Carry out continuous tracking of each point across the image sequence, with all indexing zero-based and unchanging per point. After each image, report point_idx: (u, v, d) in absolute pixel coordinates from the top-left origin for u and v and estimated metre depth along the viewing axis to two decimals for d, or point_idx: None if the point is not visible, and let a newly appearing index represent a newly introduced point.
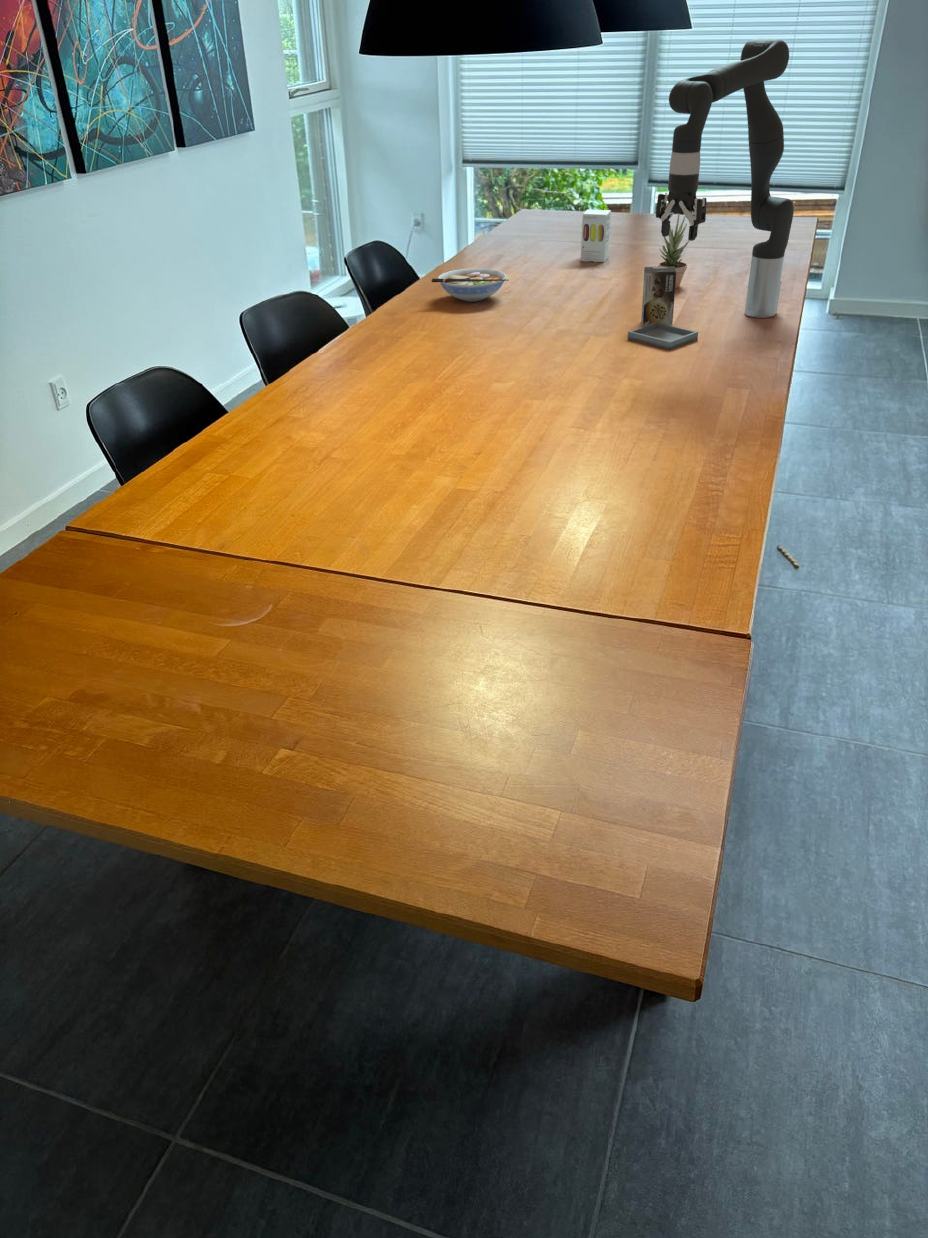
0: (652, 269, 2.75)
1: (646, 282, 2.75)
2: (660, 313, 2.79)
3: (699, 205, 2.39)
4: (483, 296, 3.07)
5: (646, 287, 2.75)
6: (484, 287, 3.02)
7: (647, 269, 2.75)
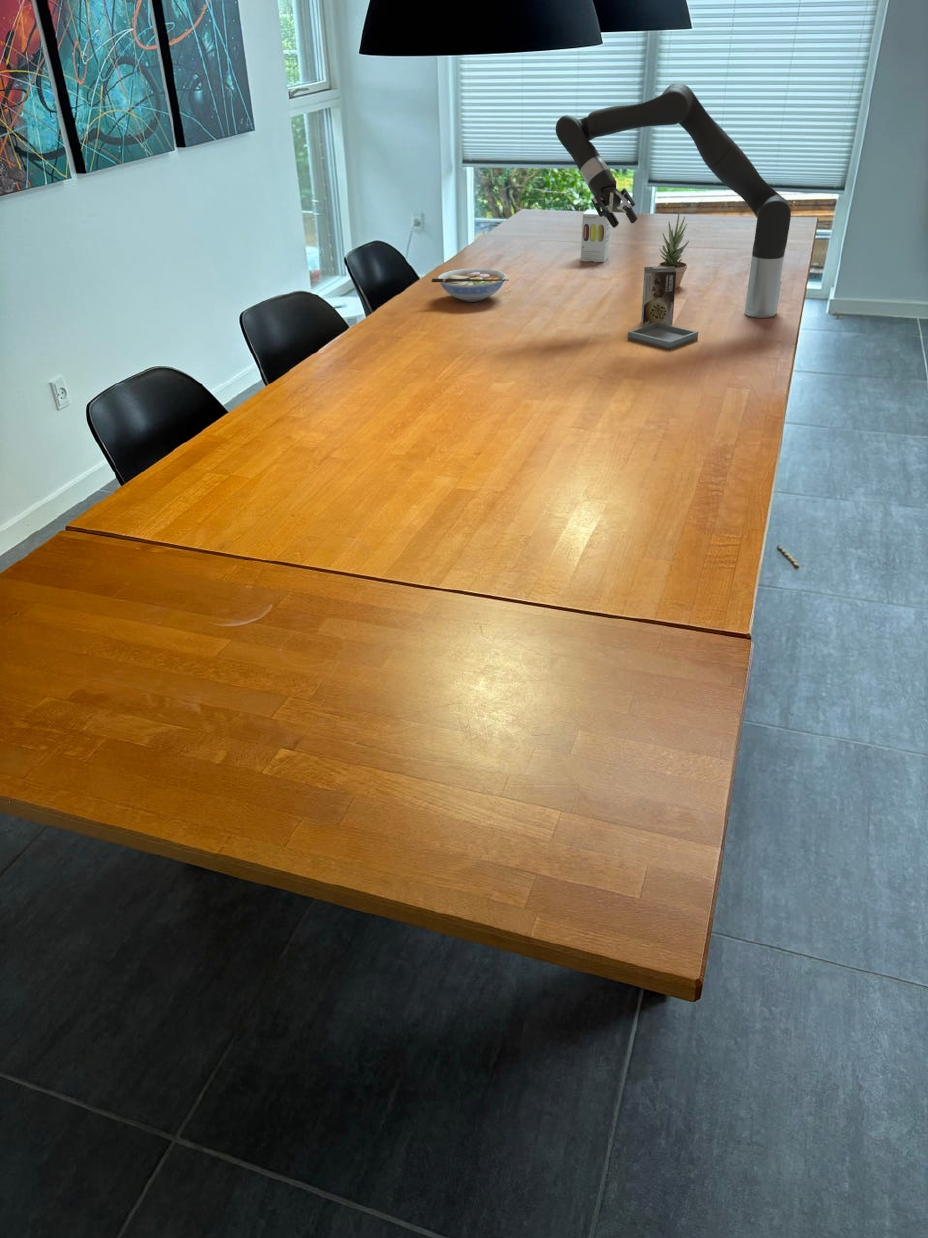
0: (652, 269, 2.75)
1: (646, 282, 2.75)
2: (660, 313, 2.79)
3: None
4: (483, 296, 3.07)
5: (646, 287, 2.75)
6: (484, 287, 3.02)
7: (647, 269, 2.75)
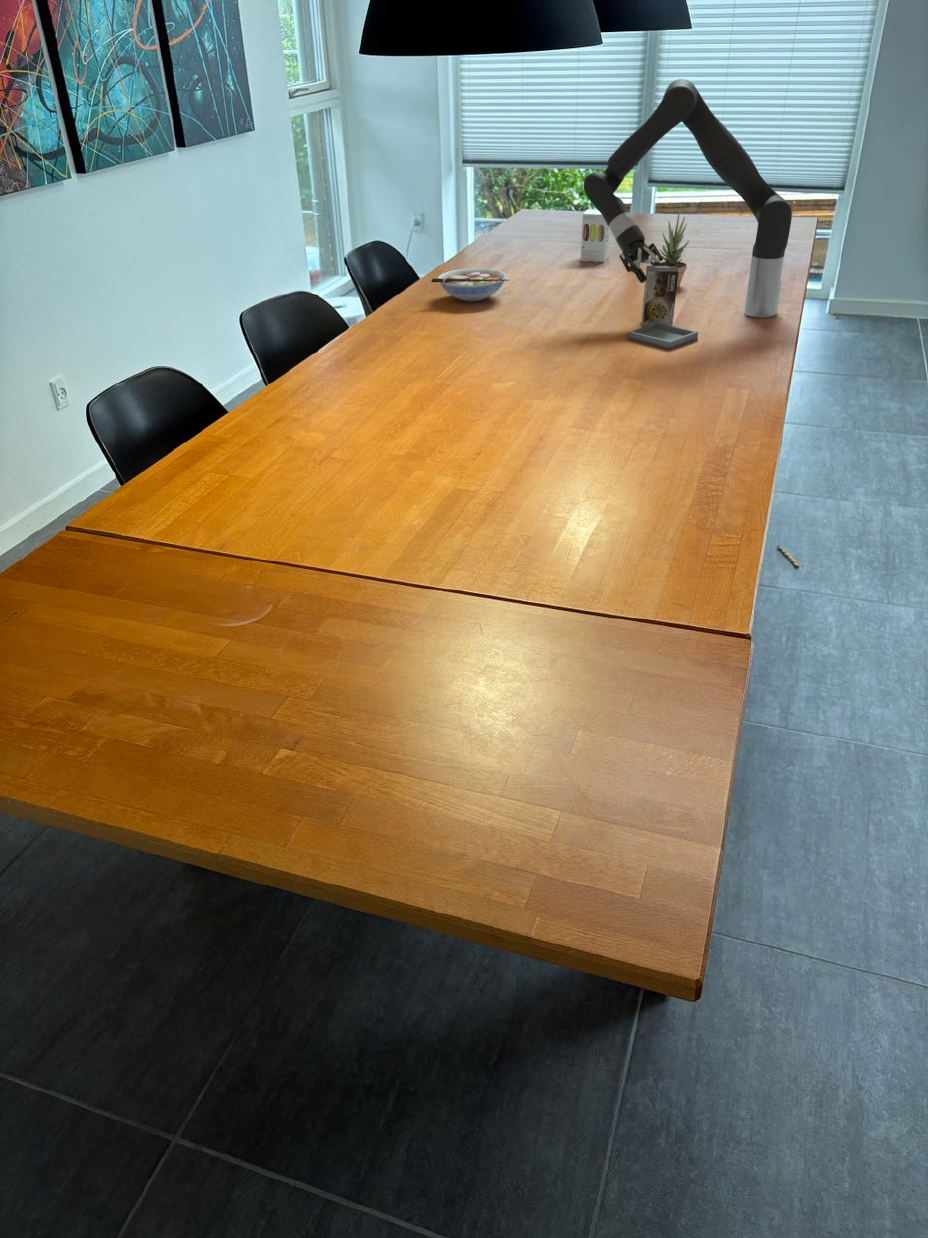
0: (654, 268, 2.75)
1: (648, 281, 2.74)
2: (661, 313, 2.79)
3: None
4: (483, 296, 3.07)
5: (648, 286, 2.75)
6: (484, 287, 3.02)
7: (649, 268, 2.75)
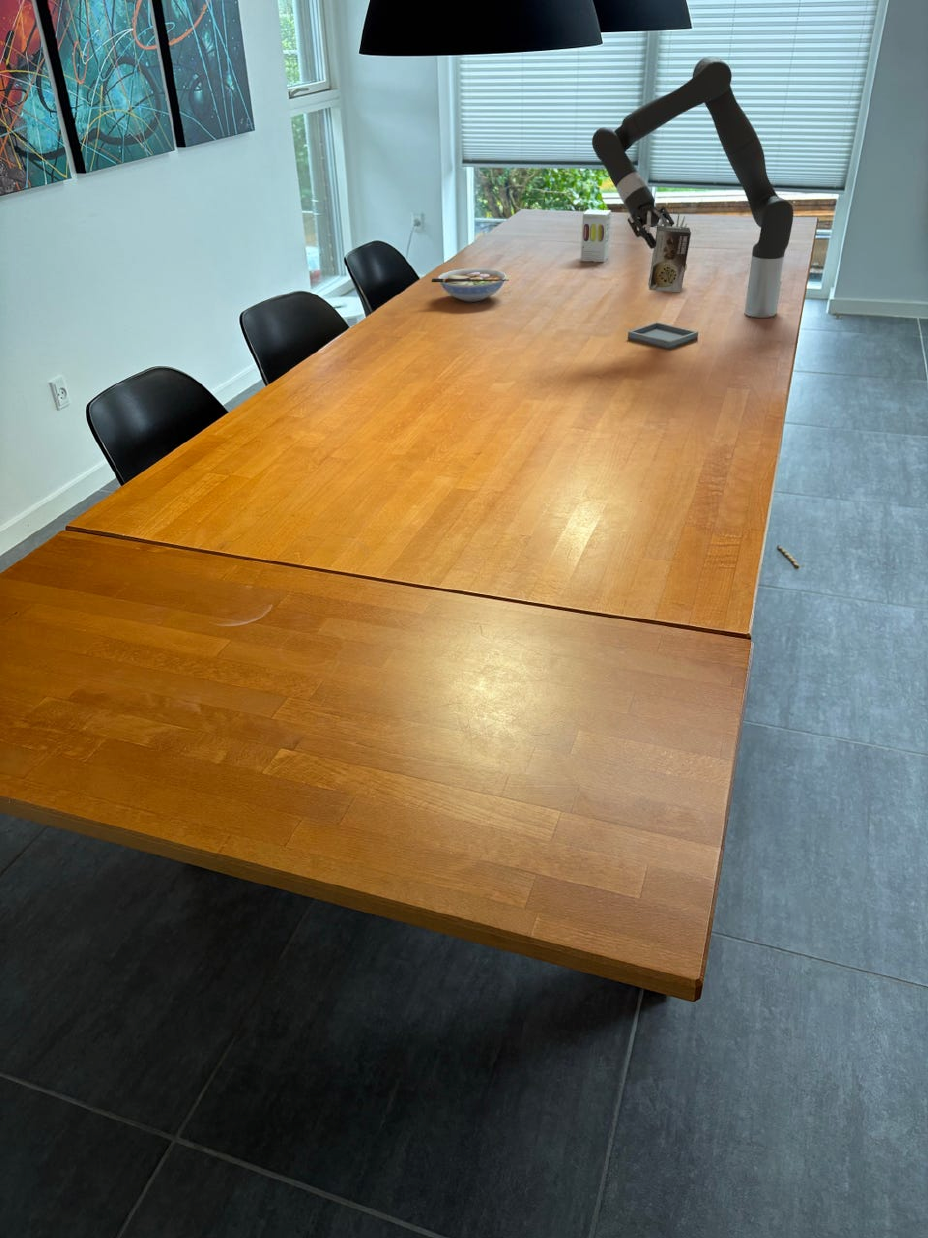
0: (665, 228, 2.57)
1: (658, 241, 2.56)
2: (670, 277, 2.61)
3: None
4: (483, 296, 3.07)
5: (657, 247, 2.57)
6: (484, 287, 3.02)
7: (660, 228, 2.57)
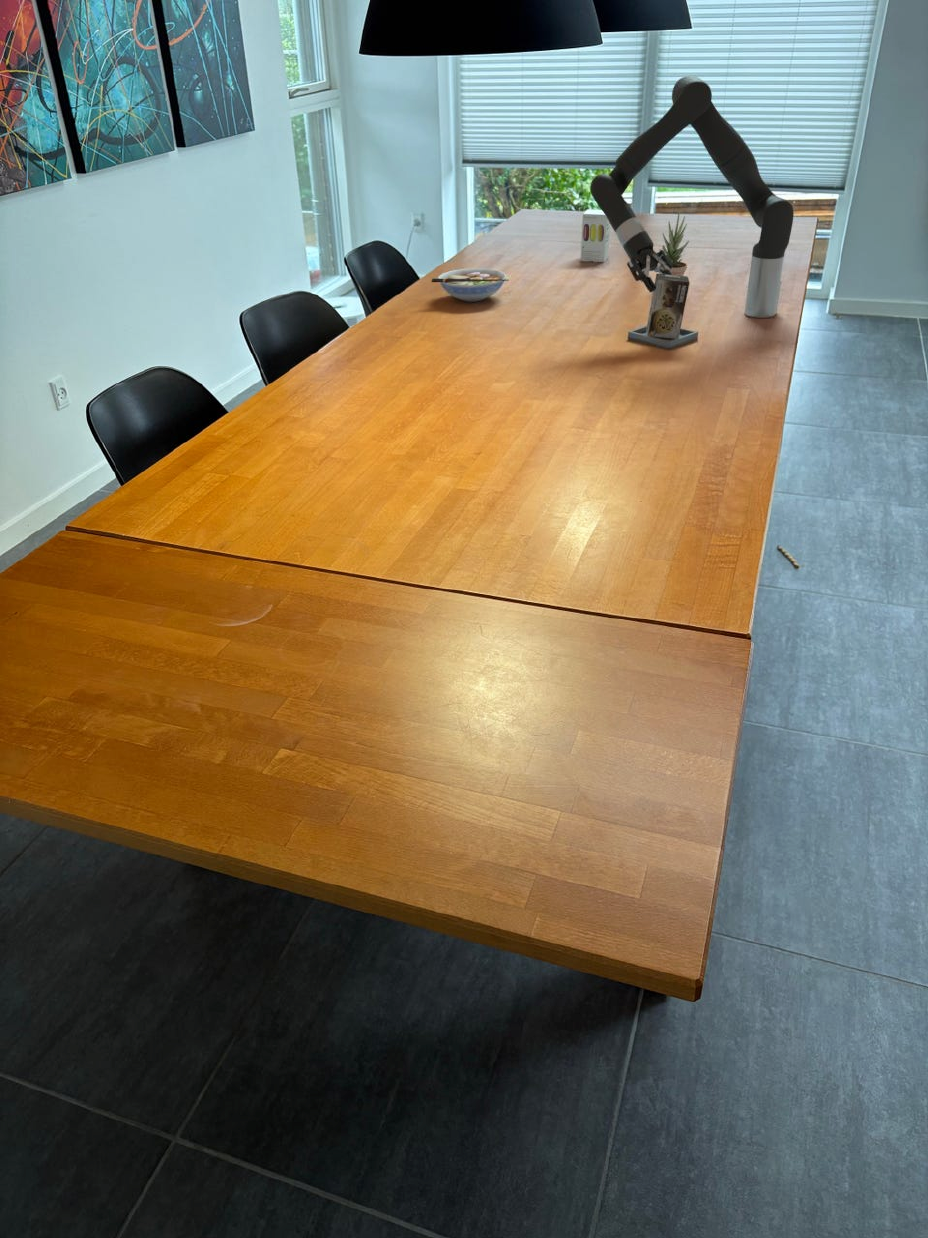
0: (664, 277, 2.61)
1: (657, 290, 2.61)
2: (668, 324, 2.66)
3: None
4: (483, 296, 3.07)
5: (656, 295, 2.62)
6: (484, 287, 3.02)
7: (659, 276, 2.62)
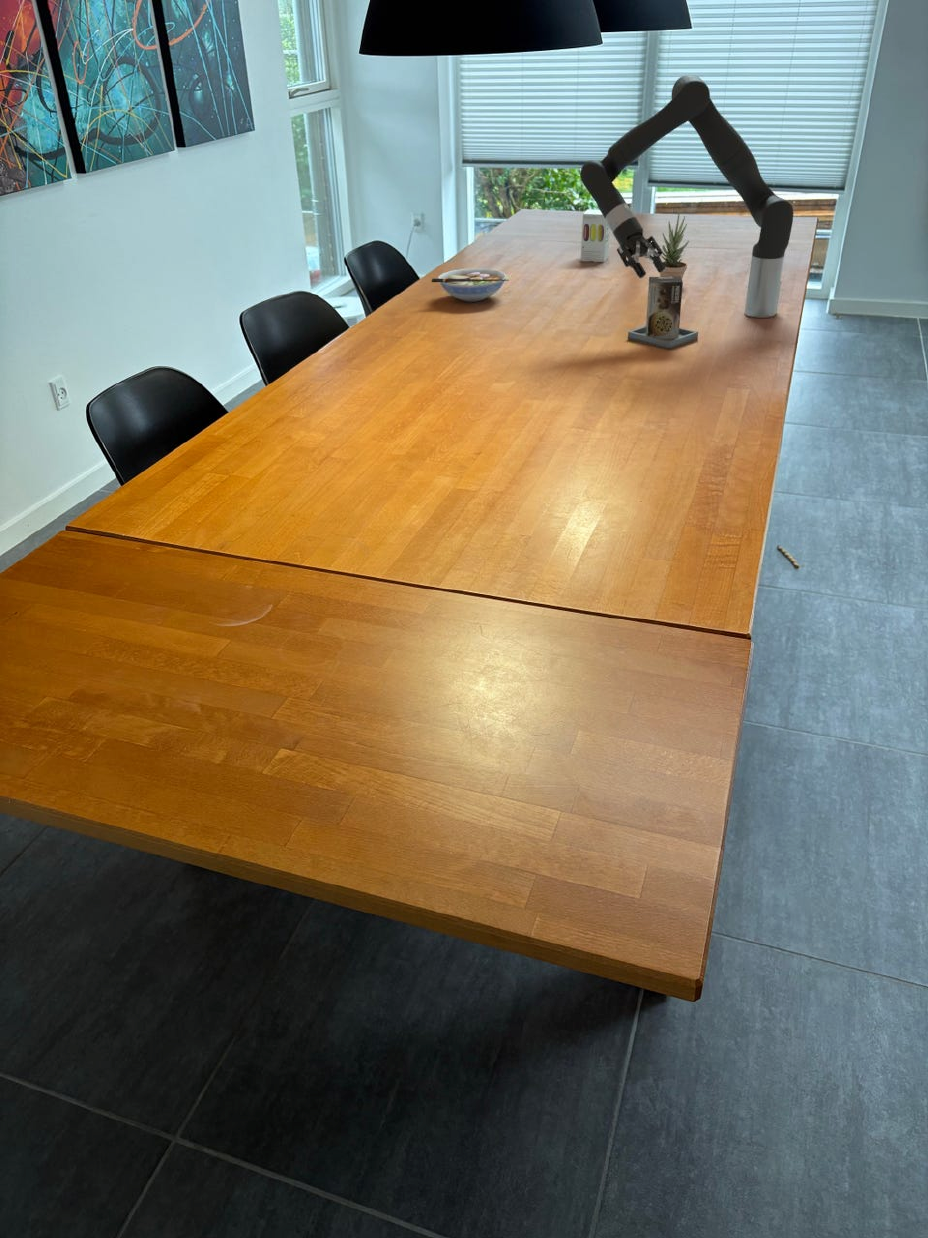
0: (657, 279, 2.62)
1: (651, 293, 2.61)
2: (666, 325, 2.66)
3: None
4: (483, 296, 3.07)
5: (651, 298, 2.62)
6: (484, 287, 3.02)
7: (652, 279, 2.62)
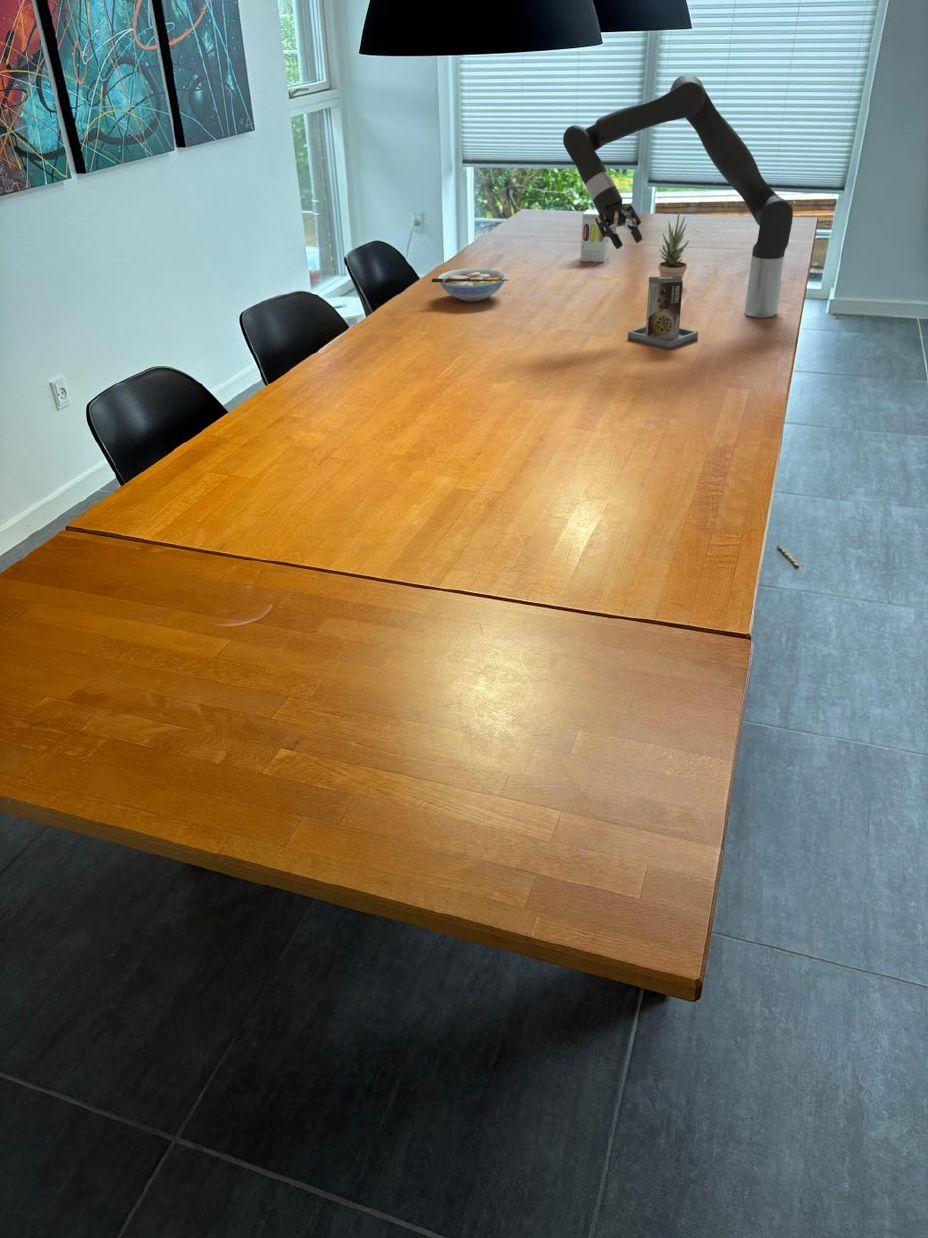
0: (657, 279, 2.62)
1: (651, 293, 2.61)
2: (666, 325, 2.66)
3: None
4: (483, 296, 3.07)
5: (651, 298, 2.62)
6: (484, 287, 3.02)
7: (652, 279, 2.62)
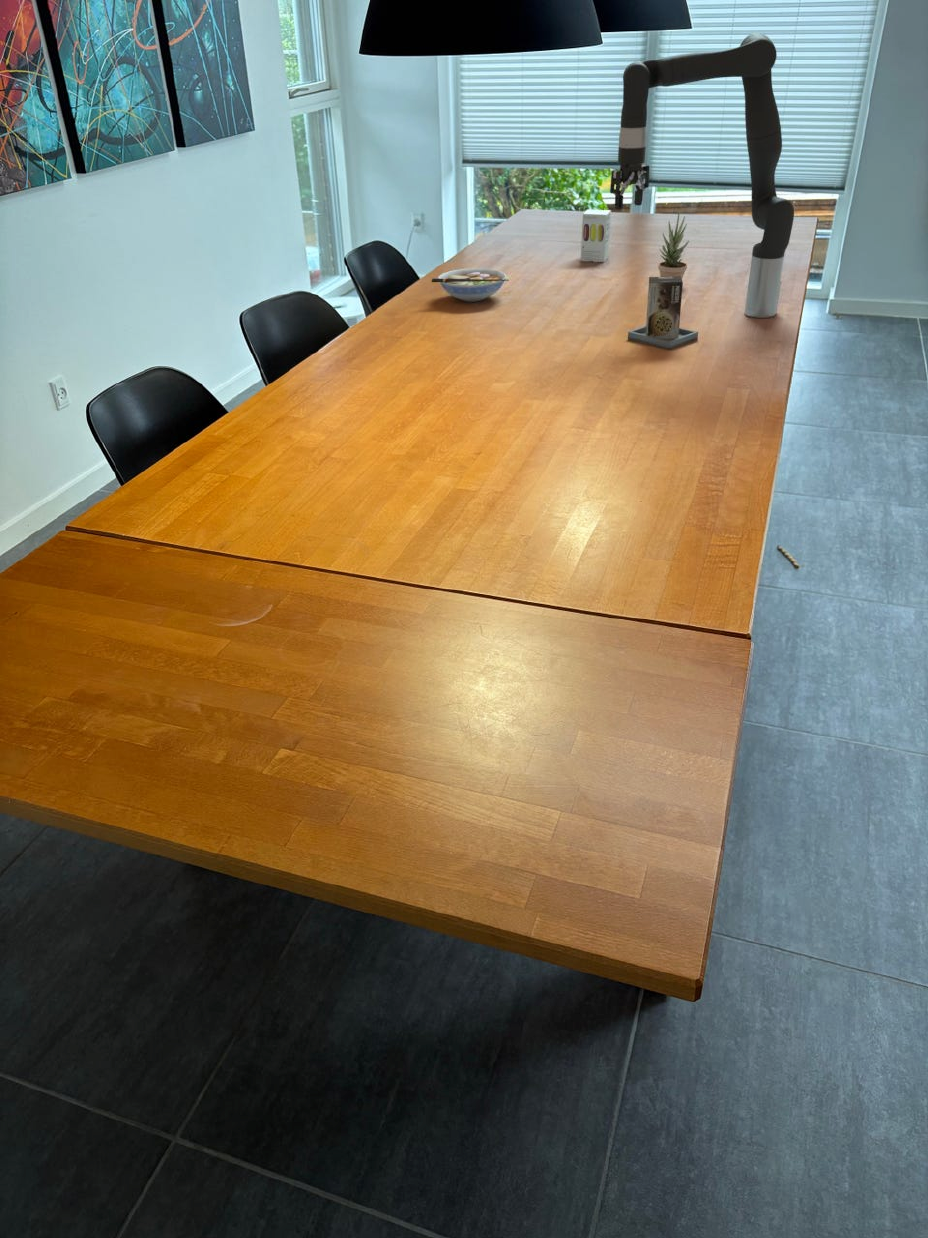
0: (657, 279, 2.62)
1: (651, 293, 2.61)
2: (666, 325, 2.66)
3: None
4: (483, 296, 3.07)
5: (651, 298, 2.62)
6: (484, 287, 3.02)
7: (652, 279, 2.62)
